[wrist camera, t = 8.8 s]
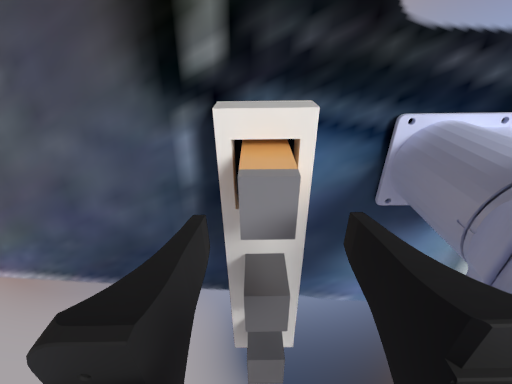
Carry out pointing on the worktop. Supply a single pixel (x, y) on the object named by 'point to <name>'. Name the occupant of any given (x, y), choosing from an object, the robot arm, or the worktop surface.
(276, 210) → the plug
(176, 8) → the worktop surface
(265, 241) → the pdu strip
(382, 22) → the worktop surface
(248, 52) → the worktop surface
